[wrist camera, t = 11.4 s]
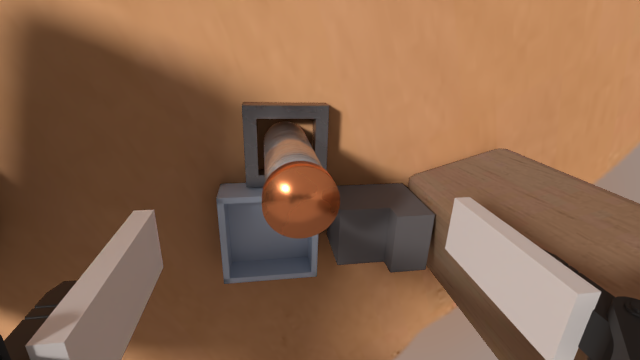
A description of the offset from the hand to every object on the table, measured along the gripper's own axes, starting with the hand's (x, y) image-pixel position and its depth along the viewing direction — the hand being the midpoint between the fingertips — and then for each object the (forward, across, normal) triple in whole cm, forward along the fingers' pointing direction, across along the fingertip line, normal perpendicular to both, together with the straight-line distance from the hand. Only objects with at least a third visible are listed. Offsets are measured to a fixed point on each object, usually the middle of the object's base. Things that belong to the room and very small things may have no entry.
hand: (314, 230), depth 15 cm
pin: (+14, 0, 0) cm, 15 cm away
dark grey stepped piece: (+15, +7, -6) cm, 17 cm away
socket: (+14, 0, 0) cm, 15 cm away
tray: (+14, -2, -7) cm, 16 cm away
